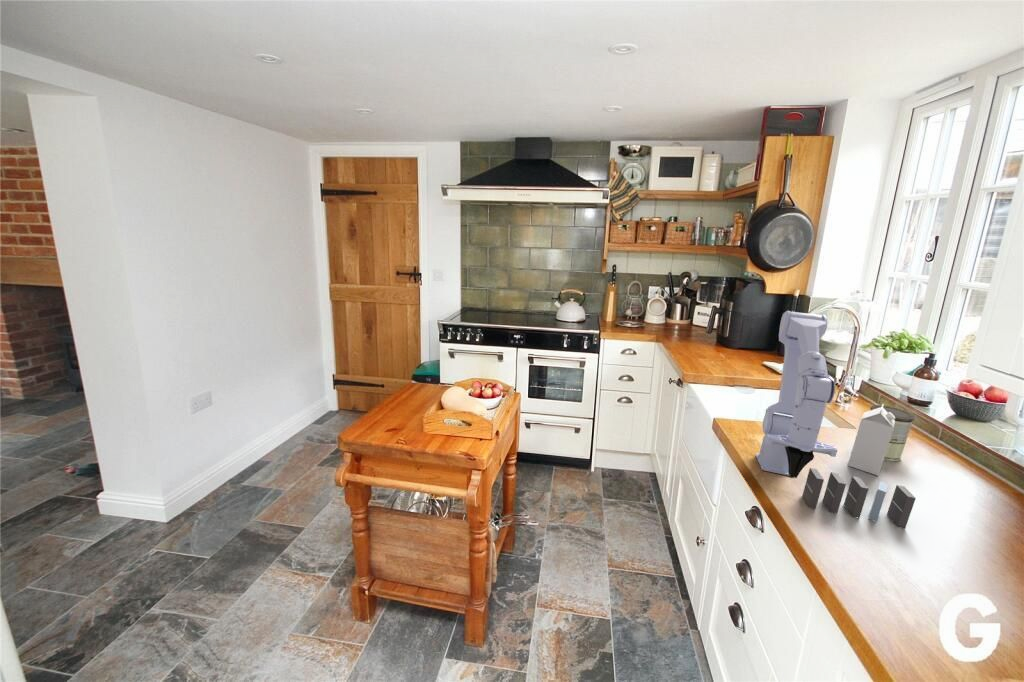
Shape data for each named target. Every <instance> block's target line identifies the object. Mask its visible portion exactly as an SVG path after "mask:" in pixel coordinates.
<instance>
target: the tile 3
mask: <svg viewBox="0 0 1024 682" xmlns="http://www.w3.org/2000/svg"><path fill="white" fill-rule="evenodd" d="M868 492H869V487H868V485H866V483H865V482H864V481H863V480H862V478H861V477H859V476H853V475H852V476H851V478H850V482H849V486H848V489H847V493H846V495H845V499H844V502H843V506H844V505H845V506H844V508H845V507H846V508H847V509H846V508H845V509H846V511H847V510H848V511H847V512H848V513H849V515H850V514H851V515H850V516H851V517H852V518H854V517H858V518H857V519H860V518H861V515H862V511H863V507H864V505H865V502H866V499H867V495H868Z"/></svg>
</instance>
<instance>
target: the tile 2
mask: <svg viewBox="0 0 1024 682" xmlns="http://www.w3.org/2000/svg"><path fill="white" fill-rule="evenodd" d="M846 486H847V484H846V482H845V481H844V479H843V477H841V476H840V474H839V473H837V472H830V473H829V478H828V481H827V485H826V488H825V491H824V495H823V499H822V502H823V503H824V506H826V508H827V510H828V511H829V513H833V514H836V515H837V514H838V512H839V510H840V509H839V508H840V505H841V503H842V502H841V501H842V499H843V496H844V493H845V490H846Z"/></svg>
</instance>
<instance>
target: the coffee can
mask: <svg viewBox="0 0 1024 682" xmlns="http://www.w3.org/2000/svg"><path fill="white" fill-rule="evenodd" d="M882 405H883V404H882ZM882 405H881V404H877V405H876V404H875V405H871V406H870V411H871V410H874V409H877V408H880V407H882ZM883 408H884V409H885V410H886V411H887V412H891V413H892V414H893V415H894V416H895V419H894V420H895V424H894V428H893V432H892V435H891V438H890V441H889V444H888V447H887V451H886V454H885V457H884V460H883V461H888V462H899V461H901V460H902V459H901V458H902V455H903V453H904V449H905V446H906V443H907V439H908V437H909V434H910V431H911V429H912V424H913V422H914V421H915V416H914V415H913V414H911V413H909V412H908V411H905V410H902V409H900V408H897V407H892V406H888V405H883Z"/></svg>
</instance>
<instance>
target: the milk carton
mask: <svg viewBox="0 0 1024 682" xmlns="http://www.w3.org/2000/svg"><path fill="white" fill-rule="evenodd" d="M883 406H885V405H884V403H882V407H880V408H877V409H874V410H871V409H870V410H867V411H865V412H863V414H862V416H861V419H860V421H859V427H858V429H857V432H856V436H855V439H854V443H853V446H852V450H851V453H850V456H849V460H848V463H847V466H848V467H851V468H853V469H855V470H859V471H863V472H866V473H869V474H871V475H875V476H879V475H880V472H881V469H882V465H883V464H884V463H883V462H884V461H885V460H884V457H885V454H886V451H887V447H888V444H889V441H890V438H891V435H892V432H893V428H894V424H895V420H894V419H895V416H894V415H893V414H892V413H891V412H887V411H886V410H885V409H884V408H883Z"/></svg>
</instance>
